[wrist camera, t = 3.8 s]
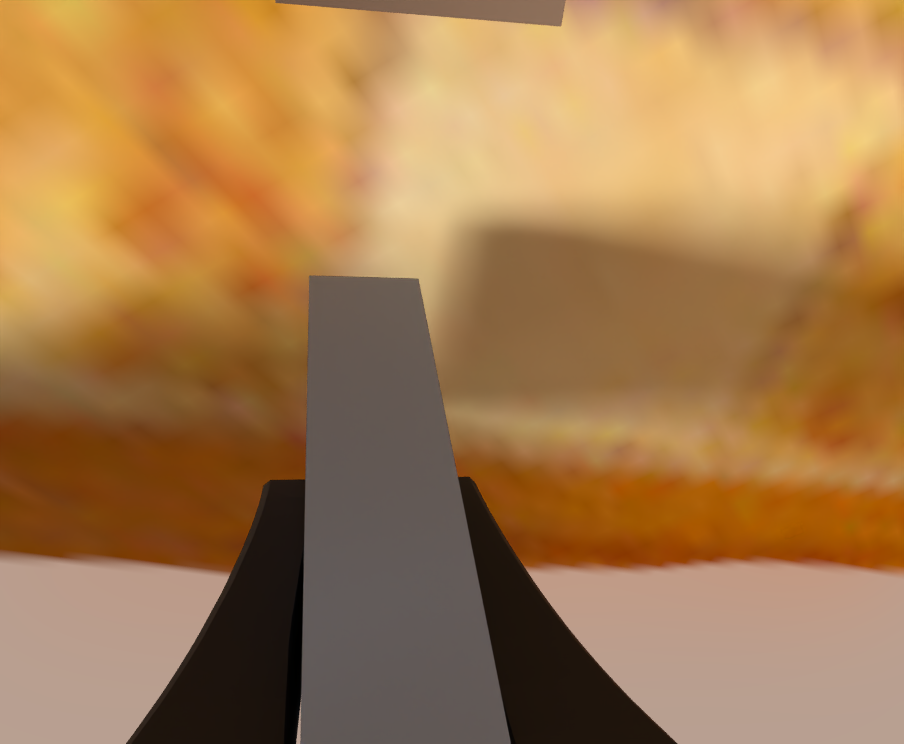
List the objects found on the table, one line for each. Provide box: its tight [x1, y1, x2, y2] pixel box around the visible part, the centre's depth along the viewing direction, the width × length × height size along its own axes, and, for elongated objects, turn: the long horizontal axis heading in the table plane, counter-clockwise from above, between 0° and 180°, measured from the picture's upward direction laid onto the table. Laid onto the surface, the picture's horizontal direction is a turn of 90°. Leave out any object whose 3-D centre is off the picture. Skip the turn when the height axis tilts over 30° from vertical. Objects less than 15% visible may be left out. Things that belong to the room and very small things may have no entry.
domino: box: [300, 276, 511, 744], centre depth 12 cm, size 2×5×10 cm, turn 174°
